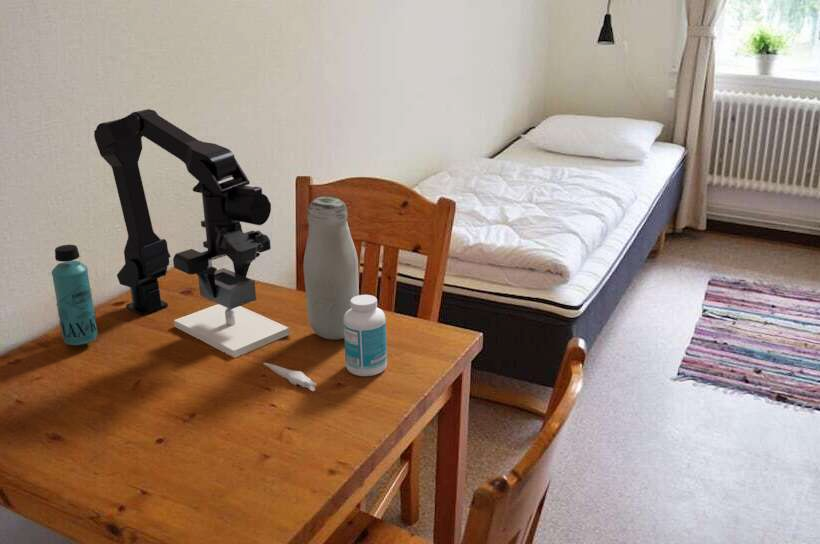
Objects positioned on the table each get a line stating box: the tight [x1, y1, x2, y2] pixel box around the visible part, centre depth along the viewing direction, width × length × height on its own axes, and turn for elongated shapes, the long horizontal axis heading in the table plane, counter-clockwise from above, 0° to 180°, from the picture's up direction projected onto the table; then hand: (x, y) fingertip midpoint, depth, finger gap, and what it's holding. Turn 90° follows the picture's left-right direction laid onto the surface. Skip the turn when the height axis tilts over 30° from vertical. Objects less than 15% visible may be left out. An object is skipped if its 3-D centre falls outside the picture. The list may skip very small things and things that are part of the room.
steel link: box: [197, 267, 257, 309], centre depth 157 cm, size 10×6×4 cm, turn 48°
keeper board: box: [173, 303, 290, 359], centre depth 160 cm, size 20×13×5 cm, turn 48°
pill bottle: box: [343, 294, 388, 377], centre depth 144 cm, size 8×7×14 cm
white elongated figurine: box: [262, 362, 318, 392], centre depth 143 cm, size 15×3×2 cm, turn 46°
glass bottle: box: [303, 196, 360, 341], centre depth 153 cm, size 10×10×28 cm
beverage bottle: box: [51, 244, 99, 346], centre depth 152 cm, size 6×7×20 cm
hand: (227, 292), depth 158 cm, fingers closed on steel link, 6 cm apart
